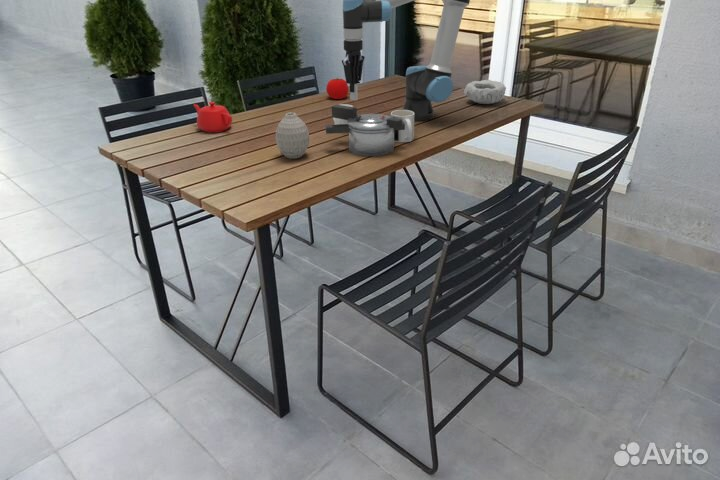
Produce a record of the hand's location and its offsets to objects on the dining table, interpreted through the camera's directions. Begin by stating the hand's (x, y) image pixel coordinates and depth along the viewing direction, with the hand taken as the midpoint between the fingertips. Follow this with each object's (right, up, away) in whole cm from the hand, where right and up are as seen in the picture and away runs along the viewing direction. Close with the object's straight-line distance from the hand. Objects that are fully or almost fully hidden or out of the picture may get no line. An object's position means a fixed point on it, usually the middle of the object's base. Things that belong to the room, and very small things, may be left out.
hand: (353, 99), depth 225 cm
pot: (+5, -21, -7) cm, 23 cm away
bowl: (+66, +11, +51) cm, 84 cm away
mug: (+20, -16, +3) cm, 26 cm away
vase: (-23, -25, -12) cm, 37 cm away
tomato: (-9, +17, +65) cm, 68 cm away
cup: (-6, -8, +18) cm, 21 cm away
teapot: (-63, -8, +21) cm, 67 cm away
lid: (+5, -12, -10) cm, 16 cm away
